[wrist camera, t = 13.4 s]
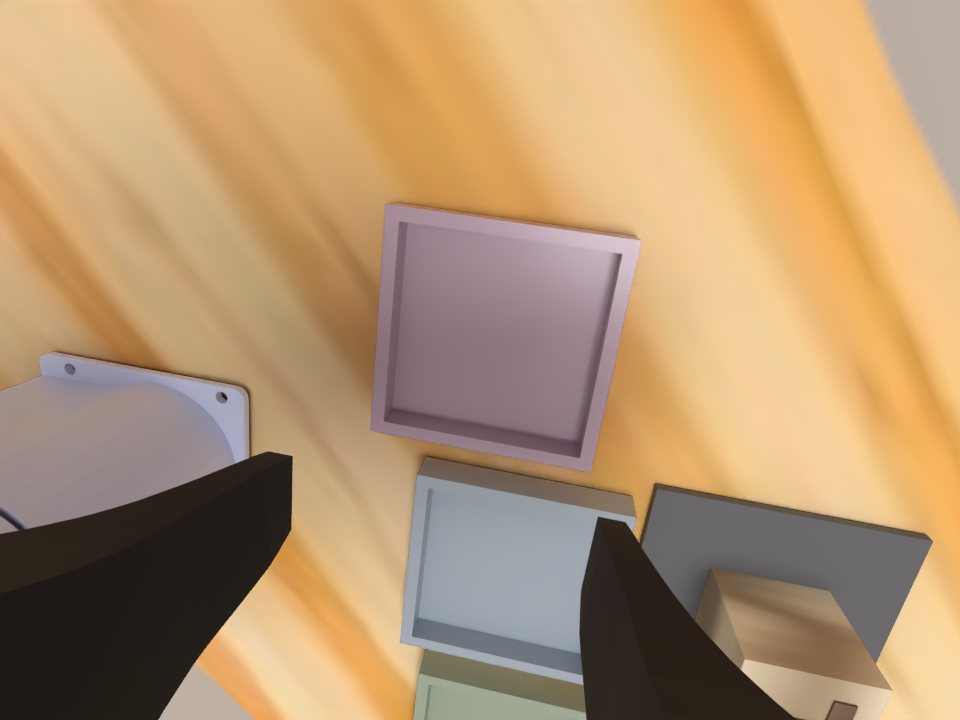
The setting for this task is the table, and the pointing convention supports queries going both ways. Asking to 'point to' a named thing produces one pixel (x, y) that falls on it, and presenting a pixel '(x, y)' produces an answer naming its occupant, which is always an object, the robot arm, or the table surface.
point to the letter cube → (793, 646)
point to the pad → (784, 554)
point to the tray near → (498, 332)
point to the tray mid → (502, 566)
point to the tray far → (491, 692)
